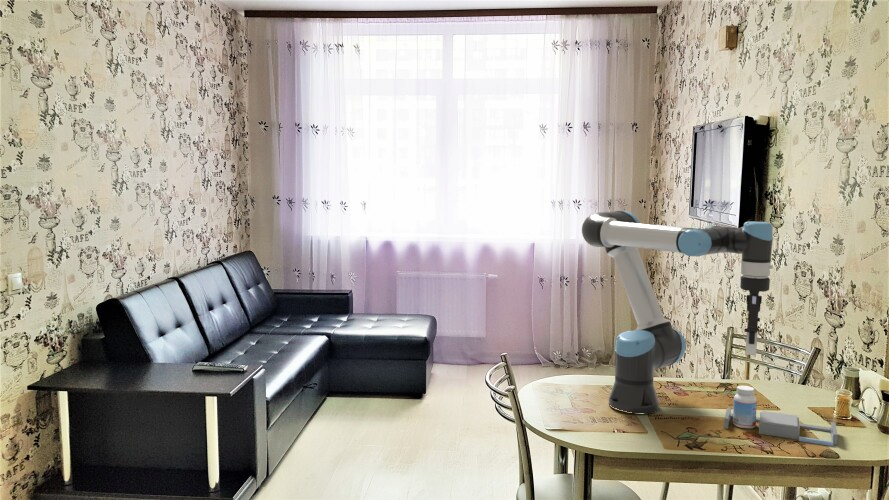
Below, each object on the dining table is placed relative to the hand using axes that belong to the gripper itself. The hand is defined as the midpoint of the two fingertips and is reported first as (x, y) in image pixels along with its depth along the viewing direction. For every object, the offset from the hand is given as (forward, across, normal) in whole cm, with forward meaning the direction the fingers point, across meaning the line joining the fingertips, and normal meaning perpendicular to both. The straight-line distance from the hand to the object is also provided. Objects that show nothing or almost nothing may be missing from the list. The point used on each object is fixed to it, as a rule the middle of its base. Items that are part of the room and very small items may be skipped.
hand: (750, 348), depth 190 cm
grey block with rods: (+22, -2, -8) cm, 24 cm away
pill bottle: (+23, -2, +1) cm, 23 cm away
